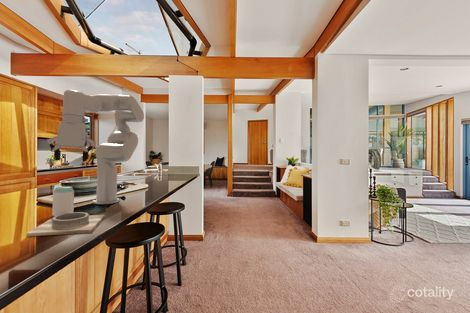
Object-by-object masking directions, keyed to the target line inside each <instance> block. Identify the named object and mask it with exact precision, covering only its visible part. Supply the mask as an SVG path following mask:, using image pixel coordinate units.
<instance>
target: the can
mask: <svg viewBox="0 0 470 313" xmlns="http://www.w3.org/2000/svg"><path fill="white" fill-rule="evenodd" d="M74 200H75V189H73V186H71V185H70V186H69V185H67V186H66V185H65V186H63V185H62V186H56V187H55V188H54V190H53V191H52V210H51V214H52V217H55V216H57V215H61V214H65V213H73V212H74V206H75V205H74Z"/></svg>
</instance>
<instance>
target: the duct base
mask: <svg viewBox="0 0 470 313" xmlns="http://www.w3.org/2000/svg"><path fill="white" fill-rule="evenodd" d="M105 217H106V216H105V214H98V215H97V214H96V215H90V214H89V213H88V212H82V211H80V212H79V211H78V212H76V211H75V212H74V211H73V213H65V214H61V215H57V216H52V218H50V219H48V220H46V221H45V222H43V223H41V224H40V225H38V226H37V227H35V228H33V229H32V230H30V231H28V232H27V233H26V237H36V236H37V237H39V236H53V235H55V236H56V235H71V234H89V233H92V232H93V231H94V230H95V229H96V228H97V227H98V225H100V223H101V222H102V221H103V220H104V219H105Z"/></svg>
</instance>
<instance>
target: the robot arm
mask: <svg viewBox="0 0 470 313" xmlns="http://www.w3.org/2000/svg"><path fill="white" fill-rule="evenodd" d="M62 100H63V101H62V102H63V104H62V117H61V118H62V120H61V121H60V123H59V126H58V130H57V135H55V136H52V137H50V138H47V139H46V142H47V144H48V145H49V147H50V148H51V149H52V150H53V151H54V153H53V158H54V161H60V160H61V149H62V148H63V147H64V148H65V147H69V148H81V149H82V150H83V152H82V161H83V162H87V161H88V160H89V153H90V152H91V150H93V149H94V147H95V146H96V145H97V142H96V141H94V140H92V139H90V138H89V136H88V126H87V124H85V123H88V122H89V119H88V118H86V117H85V113H89V114H90V113H92V114H94V113H99V112H112V111H113V112H114V115H113V116H114V121H115V122H114V123H115V126H114V128H113V130H112V132H111V133H110V134H109V136H108V137H107V142H106V143H100V144H99V145H97V146H96V148H95V158H96V167H97V170H96V195H95V196H96V198H95V199H96V200H94V199H93V200H92V203H93V204H95V205H111V204H116V203H118V202H120V198H119V197H117V196H118V195H117V193H118V191H117V190H118V167H117V165H116V164H115V162H116V163H117V162H119V163H120V162H121V163H123V162H126V163H127V162H128V161H130V159H131V158H132V156H133V154H134V152H135V150H136V149H137V147H138V144H139V137H138V134H136V133H135V132H132V131H131V128H130V127H129V125H128V124H127V123H141V122H143V121H144V120H145V113H144V110H143V109H142V107H141V105H140V103H139V102H138V100H137V99H136V98H135V97H134V96H132V95H131V94H129V95H128V94H91V95H90V94H89V95H88V94H85V93H84V92H83V91H79V90H74V89H66V90H65V91H63V99H62ZM54 141H56V145H55V143H54ZM89 143H90V145H89V146H88V144H89Z"/></svg>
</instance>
